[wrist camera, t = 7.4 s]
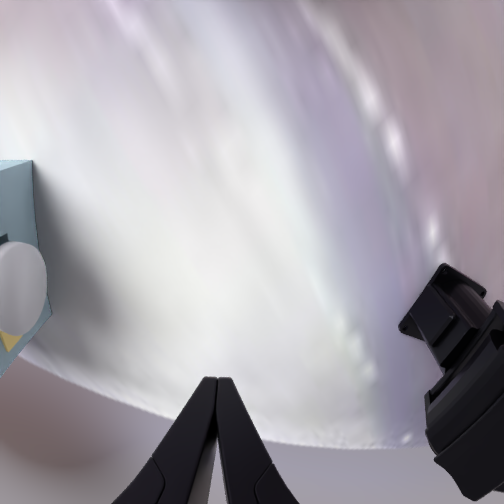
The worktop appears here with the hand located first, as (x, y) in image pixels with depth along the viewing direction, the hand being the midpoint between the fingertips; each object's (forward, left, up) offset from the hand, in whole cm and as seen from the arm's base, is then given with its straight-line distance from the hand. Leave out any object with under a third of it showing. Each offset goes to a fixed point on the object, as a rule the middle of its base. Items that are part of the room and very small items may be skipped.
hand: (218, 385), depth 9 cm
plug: (+19, +8, -9) cm, 23 cm away
